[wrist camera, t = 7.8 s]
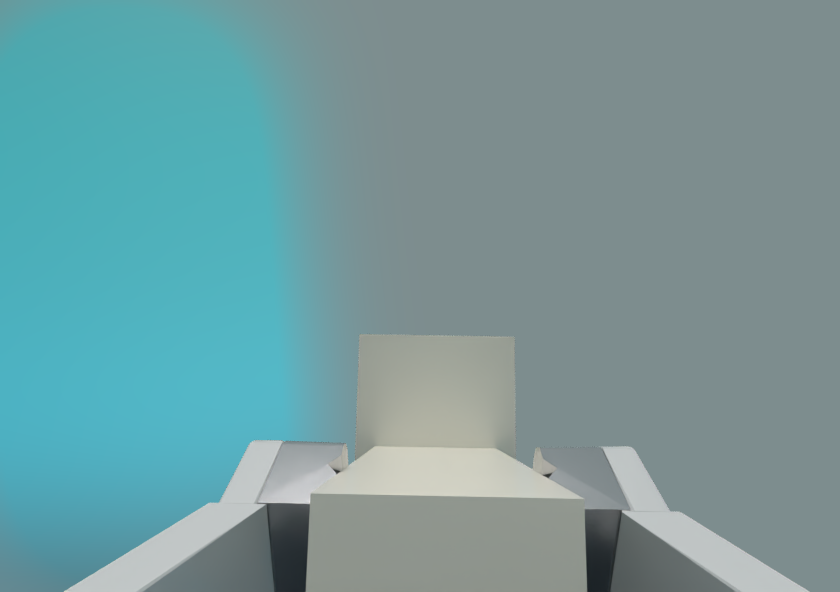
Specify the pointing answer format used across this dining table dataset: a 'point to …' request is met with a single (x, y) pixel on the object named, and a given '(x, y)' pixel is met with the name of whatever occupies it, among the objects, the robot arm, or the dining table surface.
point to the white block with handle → (441, 481)
